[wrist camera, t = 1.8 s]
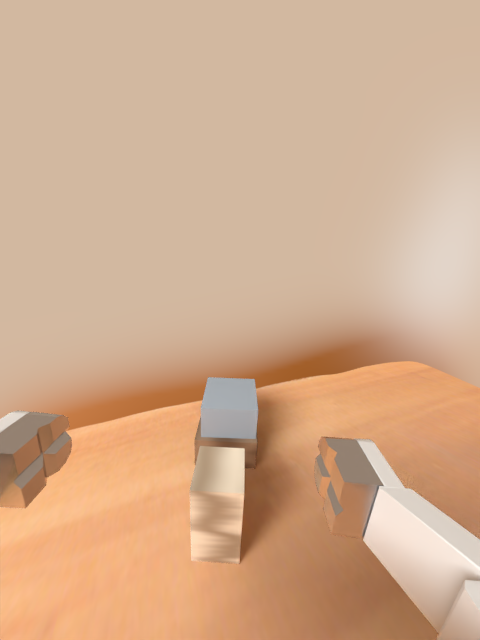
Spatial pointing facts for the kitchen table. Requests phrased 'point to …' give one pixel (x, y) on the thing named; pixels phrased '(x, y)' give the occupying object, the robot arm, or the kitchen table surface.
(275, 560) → the kitchen table surface
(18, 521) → the kitchen table surface
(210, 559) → the cream pillar block
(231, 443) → the walnut base block
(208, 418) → the slate-blue top block
